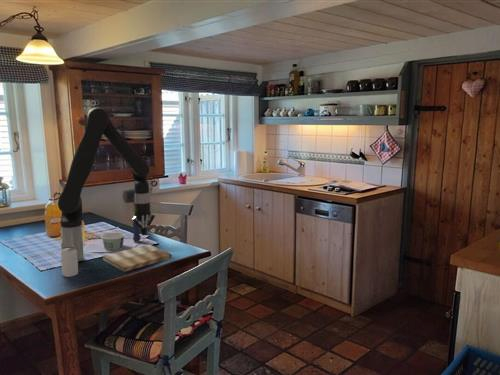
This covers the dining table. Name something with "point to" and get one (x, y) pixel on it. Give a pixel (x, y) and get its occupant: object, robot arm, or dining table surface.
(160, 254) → the oak board
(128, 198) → the rubber mallet
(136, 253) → the cream ridged flat piece
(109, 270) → the dining table surface
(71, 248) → the can
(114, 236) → the food container
